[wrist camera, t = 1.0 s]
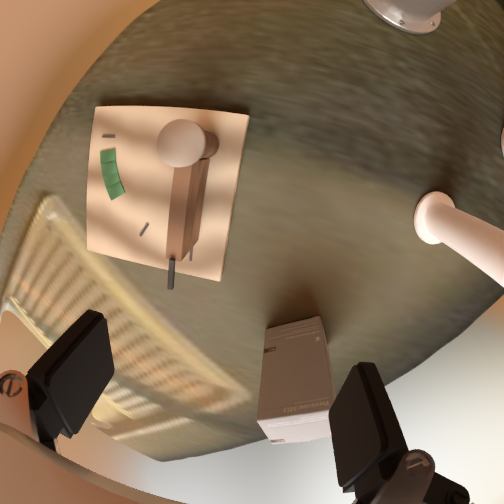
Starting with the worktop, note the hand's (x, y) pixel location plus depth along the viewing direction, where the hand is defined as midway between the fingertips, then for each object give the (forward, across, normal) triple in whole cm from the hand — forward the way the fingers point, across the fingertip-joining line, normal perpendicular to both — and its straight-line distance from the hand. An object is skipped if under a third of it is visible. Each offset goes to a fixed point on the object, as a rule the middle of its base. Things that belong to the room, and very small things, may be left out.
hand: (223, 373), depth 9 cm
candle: (+25, -23, -6) cm, 34 cm away
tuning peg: (+23, +7, -2) cm, 24 cm away
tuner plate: (+25, +13, -2) cm, 28 cm away
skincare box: (+26, -9, +16) cm, 32 cm away
